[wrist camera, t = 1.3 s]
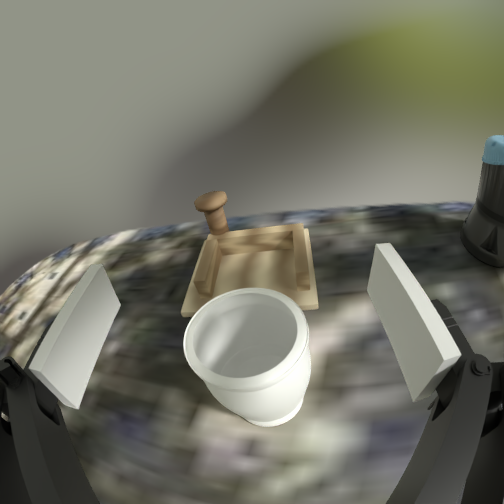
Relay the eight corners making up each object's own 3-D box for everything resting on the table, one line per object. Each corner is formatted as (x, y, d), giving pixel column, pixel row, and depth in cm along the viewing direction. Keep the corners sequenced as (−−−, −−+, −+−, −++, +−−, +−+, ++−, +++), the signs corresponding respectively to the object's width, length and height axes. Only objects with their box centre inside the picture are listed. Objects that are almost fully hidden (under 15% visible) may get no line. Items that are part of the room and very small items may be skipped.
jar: (215, 421, 29) (161, 366, 20) (244, 356, 36) (213, 280, 27) (298, 443, 25) (288, 403, 16) (320, 370, 32) (320, 293, 23)
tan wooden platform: (308, 233, 56) (302, 179, 49) (318, 308, 40) (315, 245, 33) (206, 244, 60) (189, 195, 53) (183, 317, 44) (153, 262, 37)
